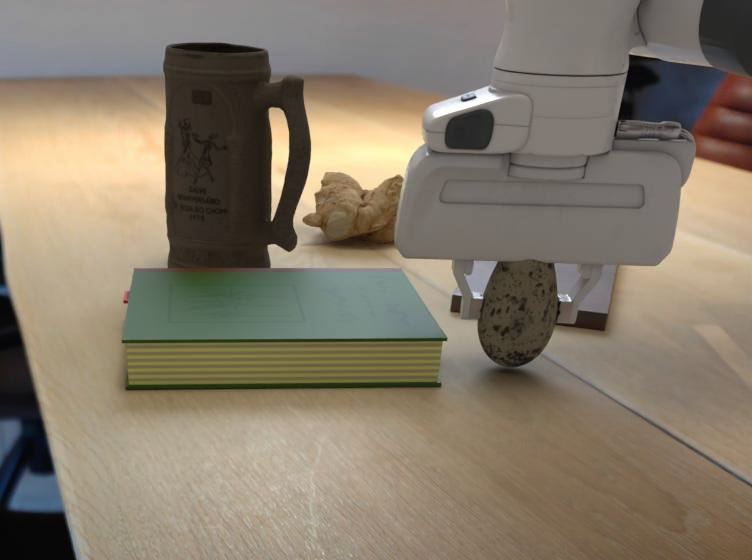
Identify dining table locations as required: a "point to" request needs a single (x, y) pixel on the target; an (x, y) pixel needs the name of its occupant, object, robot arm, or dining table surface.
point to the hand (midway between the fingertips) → (515, 319)
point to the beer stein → (228, 156)
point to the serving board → (567, 275)
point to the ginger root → (356, 208)
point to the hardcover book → (278, 329)
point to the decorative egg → (518, 311)
